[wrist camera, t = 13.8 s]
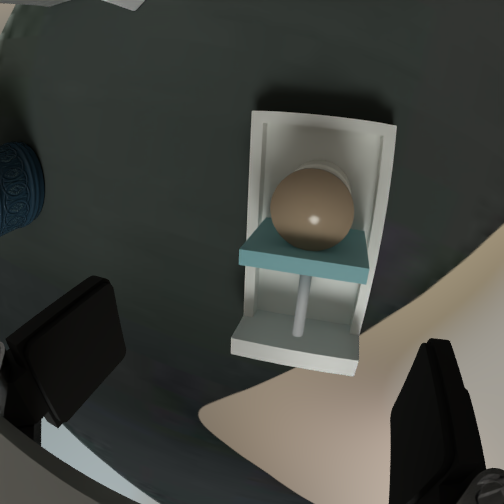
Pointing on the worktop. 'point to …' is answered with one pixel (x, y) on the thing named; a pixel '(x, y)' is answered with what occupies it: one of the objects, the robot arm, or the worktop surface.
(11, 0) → the skincare box
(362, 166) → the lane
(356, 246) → the pusher
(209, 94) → the worktop surface
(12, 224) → the canister
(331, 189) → the jar
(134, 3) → the medicine bottle
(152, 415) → the worktop surface
